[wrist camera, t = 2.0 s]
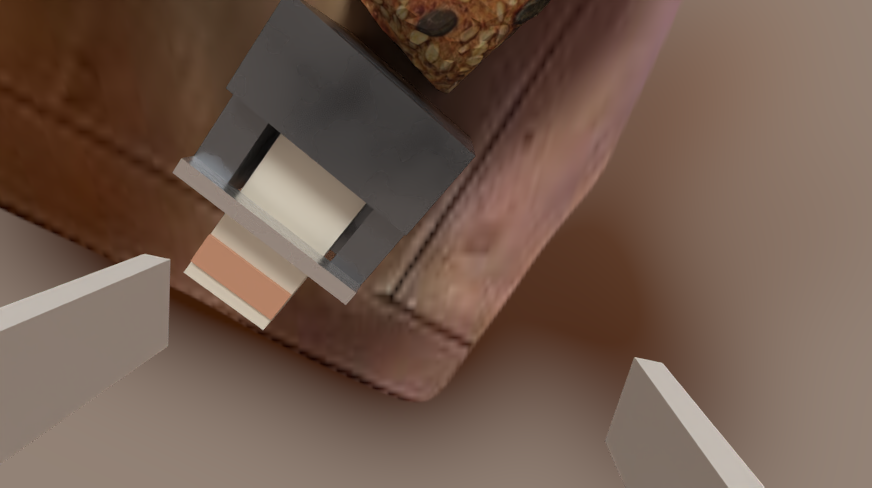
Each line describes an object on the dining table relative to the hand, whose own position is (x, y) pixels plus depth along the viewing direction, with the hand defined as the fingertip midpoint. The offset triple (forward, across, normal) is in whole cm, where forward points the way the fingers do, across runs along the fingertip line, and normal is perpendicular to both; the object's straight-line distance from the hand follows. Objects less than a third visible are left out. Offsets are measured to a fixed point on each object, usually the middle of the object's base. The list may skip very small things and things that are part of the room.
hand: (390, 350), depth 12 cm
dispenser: (+20, -6, +4) cm, 21 cm away
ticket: (+13, -8, +1) cm, 15 cm away
